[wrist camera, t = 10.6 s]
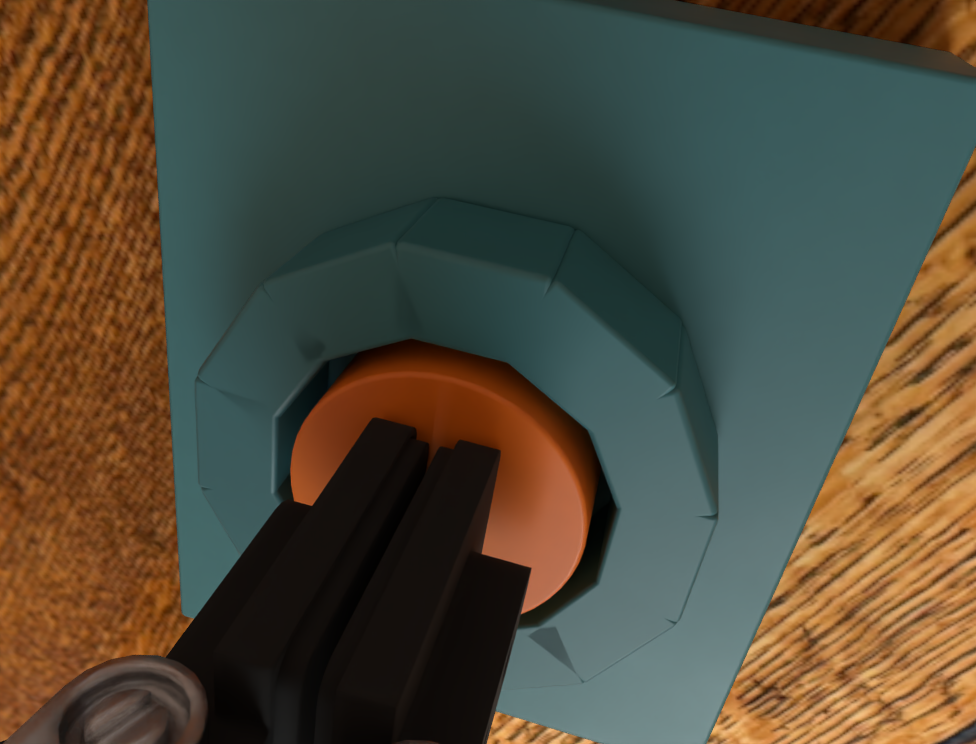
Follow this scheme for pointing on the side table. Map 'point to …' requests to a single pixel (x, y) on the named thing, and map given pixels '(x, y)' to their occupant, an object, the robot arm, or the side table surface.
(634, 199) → the button block
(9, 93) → the side table surface
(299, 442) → the button
